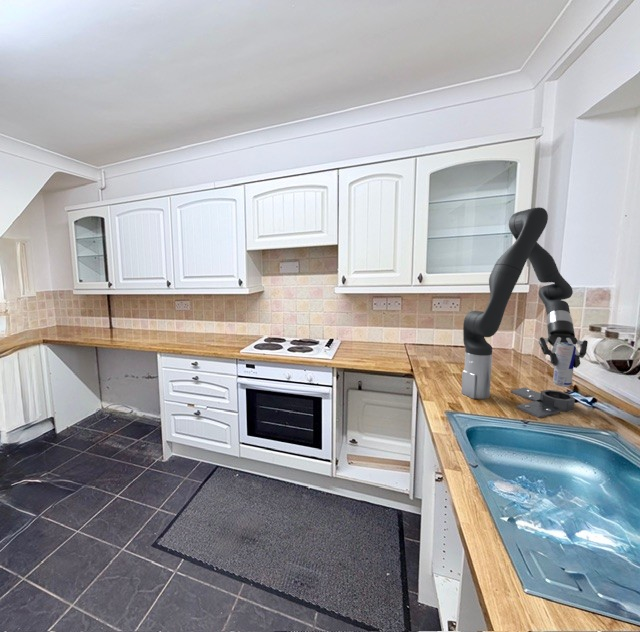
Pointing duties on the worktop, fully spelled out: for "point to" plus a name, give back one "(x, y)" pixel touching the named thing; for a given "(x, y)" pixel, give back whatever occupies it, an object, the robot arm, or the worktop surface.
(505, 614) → the worktop surface
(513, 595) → the worktop surface
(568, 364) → the beverage can
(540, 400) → the grey can holder
